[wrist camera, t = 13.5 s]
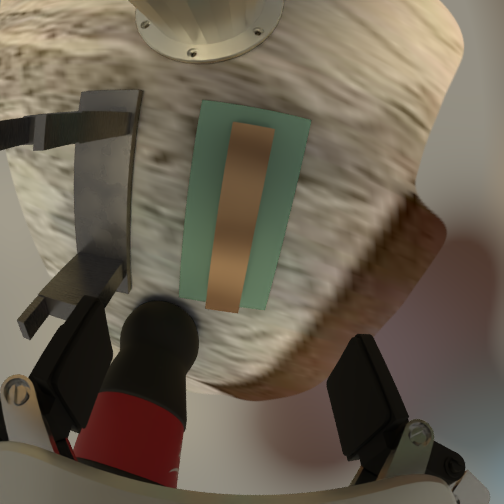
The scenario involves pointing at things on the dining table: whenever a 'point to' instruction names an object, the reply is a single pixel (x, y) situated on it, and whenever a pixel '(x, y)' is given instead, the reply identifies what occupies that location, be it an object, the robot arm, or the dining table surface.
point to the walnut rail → (237, 214)
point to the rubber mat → (209, 189)
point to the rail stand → (87, 196)
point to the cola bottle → (143, 398)
